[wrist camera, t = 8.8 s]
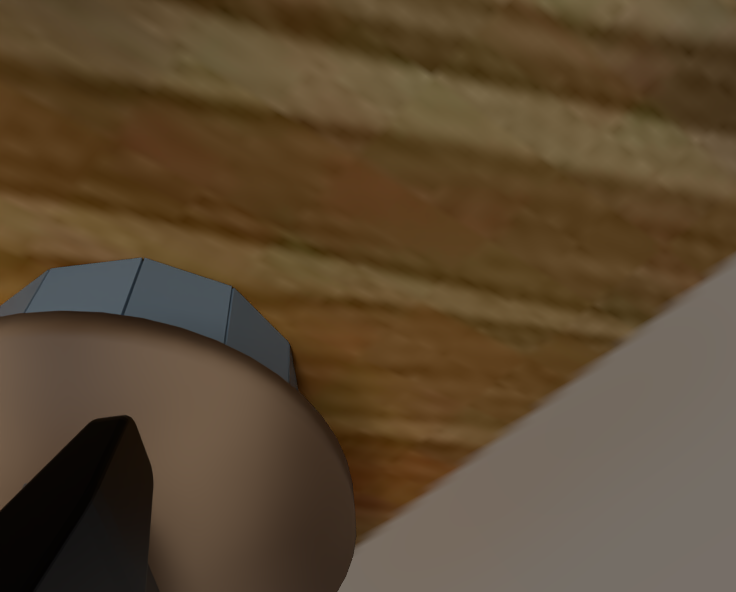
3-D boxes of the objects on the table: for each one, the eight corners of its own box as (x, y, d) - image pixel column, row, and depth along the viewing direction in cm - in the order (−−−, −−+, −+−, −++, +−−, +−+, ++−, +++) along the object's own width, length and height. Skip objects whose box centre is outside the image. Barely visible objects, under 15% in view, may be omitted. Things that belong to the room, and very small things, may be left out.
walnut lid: (322, 276, 15) (329, 398, 12) (373, 624, 22) (386, 762, 19) (-291, 350, 15) (-462, 499, 11) (-40, 679, 22) (-101, 831, 19)
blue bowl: (270, 241, 20) (264, 345, 16) (315, 481, 26) (319, 605, 21) (-80, 284, 20) (-180, 401, 16) (41, 516, 25) (-9, 649, 21)
